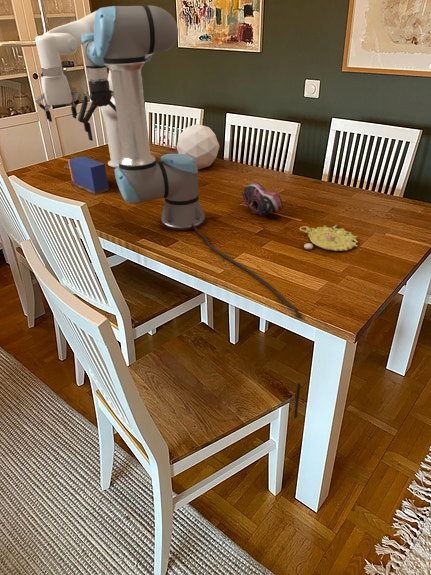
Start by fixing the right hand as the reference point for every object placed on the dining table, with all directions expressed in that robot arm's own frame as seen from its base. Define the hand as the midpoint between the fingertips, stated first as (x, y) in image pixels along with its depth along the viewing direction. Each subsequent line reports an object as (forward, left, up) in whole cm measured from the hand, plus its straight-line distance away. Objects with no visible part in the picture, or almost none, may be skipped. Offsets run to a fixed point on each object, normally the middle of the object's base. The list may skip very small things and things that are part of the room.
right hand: (107, 137), depth 179 cm
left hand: (+5, +17, +7) cm, 19 cm away
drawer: (+5, +14, -19) cm, 24 cm away
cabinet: (0, +10, -20) cm, 23 cm away
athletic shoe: (-40, -53, -20) cm, 70 cm away
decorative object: (-68, -70, -20) cm, 99 cm away
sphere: (+17, -39, -20) cm, 47 cm away
